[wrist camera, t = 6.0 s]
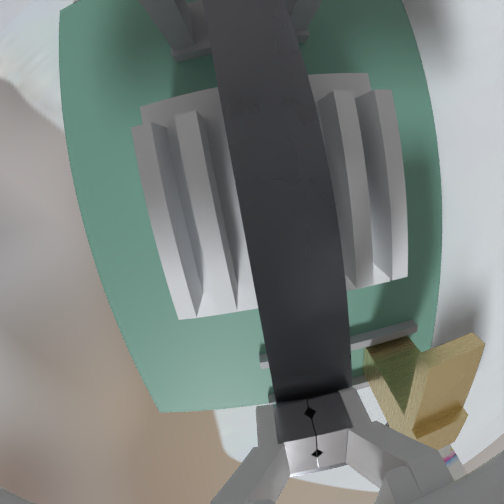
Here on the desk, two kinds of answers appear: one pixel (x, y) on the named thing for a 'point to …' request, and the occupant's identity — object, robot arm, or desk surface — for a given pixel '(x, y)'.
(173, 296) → the board
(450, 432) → the hook
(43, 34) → the desk surface
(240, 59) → the strap
